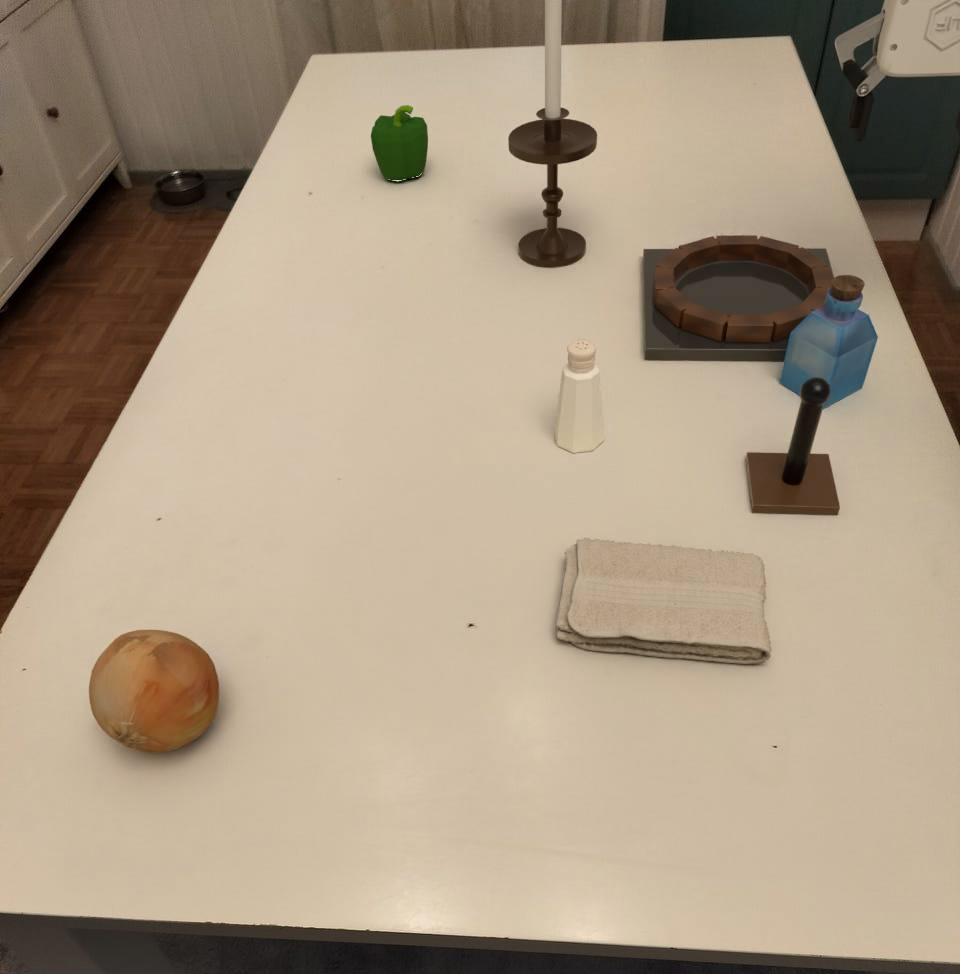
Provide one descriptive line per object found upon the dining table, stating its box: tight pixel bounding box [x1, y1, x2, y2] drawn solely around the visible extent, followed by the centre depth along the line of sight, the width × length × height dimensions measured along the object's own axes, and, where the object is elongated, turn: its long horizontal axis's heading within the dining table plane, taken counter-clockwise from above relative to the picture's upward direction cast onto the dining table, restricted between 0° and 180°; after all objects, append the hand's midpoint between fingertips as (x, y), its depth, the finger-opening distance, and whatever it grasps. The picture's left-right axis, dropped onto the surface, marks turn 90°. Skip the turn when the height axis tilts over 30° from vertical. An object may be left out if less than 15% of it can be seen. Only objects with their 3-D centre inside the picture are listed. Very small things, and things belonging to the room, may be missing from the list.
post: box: [745, 377, 841, 516], centre depth 85 cm, size 8×8×12 cm
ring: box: [653, 234, 833, 343], centre depth 109 cm, size 21×21×2 cm
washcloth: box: [555, 537, 772, 665], centre depth 80 cm, size 12×18×3 cm, turn 81°
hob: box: [642, 247, 835, 362], centre depth 110 cm, size 23×23×2 cm
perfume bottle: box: [778, 274, 879, 410], centre depth 96 cm, size 6×6×12 cm
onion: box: [88, 629, 220, 754], centre depth 72 cm, size 10×10×10 cm
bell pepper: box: [370, 104, 429, 180], centre depth 136 cm, size 8×8×10 cm
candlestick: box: [507, 0, 598, 268], centre depth 109 cm, size 11×11×35 cm
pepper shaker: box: [553, 338, 605, 454], centre depth 92 cm, size 5×5×11 cm
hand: (909, 134), depth 88 cm, fingers open, 9 cm apart
